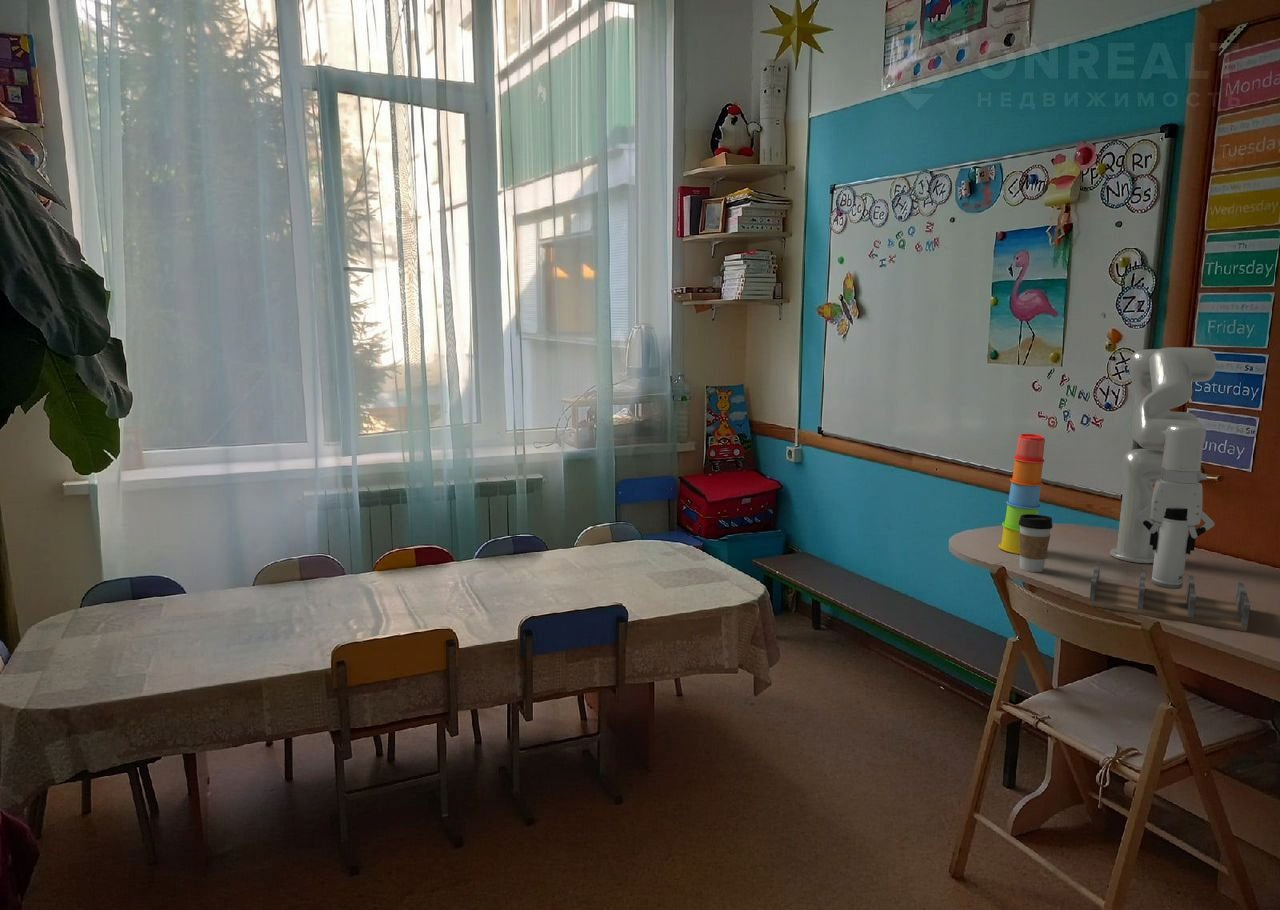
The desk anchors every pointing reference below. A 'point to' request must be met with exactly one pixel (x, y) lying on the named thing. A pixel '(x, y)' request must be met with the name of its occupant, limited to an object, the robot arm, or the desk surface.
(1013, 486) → the stacking cups
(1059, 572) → the desk surface
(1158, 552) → the travel mug
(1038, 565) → the coffee cup
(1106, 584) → the drying rack
